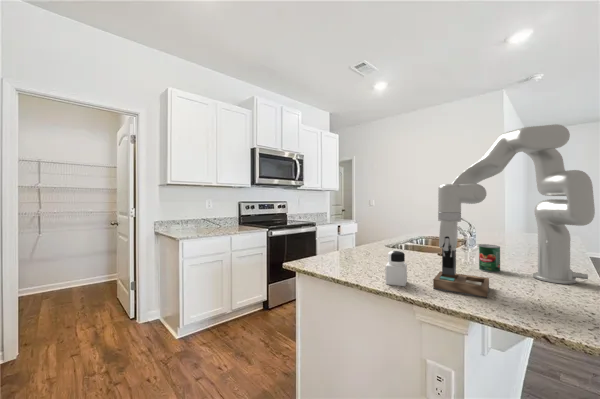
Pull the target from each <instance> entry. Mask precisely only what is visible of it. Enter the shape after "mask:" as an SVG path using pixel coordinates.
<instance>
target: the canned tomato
mask: <svg viewBox="0 0 600 399" xmlns="http://www.w3.org/2000/svg"><path fill="white" fill-rule="evenodd" d="M478 270H480V271H481V272H486V273H493V274H495V273H496V274H497V273H498V274H499V273H501V246H500V245H496V244H489V243H488V244H486V243H484V244H483V243H481V244H478Z"/></svg>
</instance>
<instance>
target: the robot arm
mask: <svg viewBox="0 0 600 399" xmlns="http://www.w3.org/2000/svg"><path fill="white" fill-rule="evenodd" d="M570 136H571V134H570V130H569V129H568V128H567V126H565V125H563V124H556V123H555V124H548V125H547V124H546V125H533V126H525V127H521V128H517V129H514V130H513V129H512V130H508V131H506V132H503V133H501V134H500V135H499V136H498V137H497V138H496V139H495V140H494V142H493V143H492V144H491V145H490V147H489V148H488V149H487V151H485V153H484V154H482V156H481V158H480V159H479V160H477V161H476V162H475V163H473V164H471V165H470V166H469V167H467V168H466V169H465V170H463V171H462V172H461V173H460V174H458V176H457V177H455V179H454V181H452V183H442V184H440V185H439V186H438V189H437V190H438V192H437V193H438V195H437V198H438V200H437V202H438V203H437V210H438V211H437V214H438V215H437V217H438V220H437V221H438V222H440V224H439V237H438V248H440V249H442V247H443V246H444V253H443V267H445V268H453V257H452V250H453V249H454V248H455V247H456V248H457V246H458V234H459V233H458V224H459V223H461V222H462V204H466V205H467V204H468V205H470V204H471V205H476V204H479V203H482V202H483V201H484V200H485V199H486V196H487V190H486V188H485V187H484V186H483V185H481V184H479V183H480V182H482V181H484V180H487V179H489V178H492V177H494V176H496V175H498V174H500V173H502V172H503V171H504V169H505V168H506V167H507V166H508V164H509V163H510V162H511V161H512V159H514V157H515V156H516V155H517V154H518V153H521V152H523V153H525V154H526V155H527V156H528V157H530V159H531V160H532V161H533V164H534V170H535V178H536V179H535V180H536V181H535V182H536V188H537V191H538V193H539V194H540V195H542V196H545V197H566V199H564V198H563V199H561V198H559V199H558V198H556V199H555V198H553V199H552V198H551V199H545V200H542V201H539V202H538V203H537V204H536V205H535V206H534V216H535V222H536V226H537V272H533V273H532V277H533V278H535V279H537V280H539V281H544V282H546V283H547V282H548V283H553V284H562V285H572V284H577V280H576V279H581V280H589V275H588V273H582V272H576V271H573V269H571V234H570V231H569V229H568V228H567V226H575V227H576V226H578V227H581V226H587V225H589V224H591V223H592V222H593V221H594V218H595V215H596V212H595V211H596V210H595V209H596V208H595V198H594V188H593V187H594V185H593V181H592V179H591V177H590V176H589V174H587V172H585V171H583V170H579V169H570V170H566V168H565V165H564V164H565V163H564V158H563V156H562V154H561V152H559V150H557V149H560V148H562V147H563V146H565V145H566V144H567V143H568V142H569V140H570ZM449 247H451V248H449ZM449 250H450V251H449Z"/></svg>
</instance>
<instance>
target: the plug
mask: <svg viewBox="0 0 600 399" xmlns="http://www.w3.org/2000/svg"><path fill="white" fill-rule="evenodd" d="M449 248H451V247H449ZM441 249H442V250H441V251H442V252H441V253H442V255H441V257H442V258H441V259H442V260H441V270H442V274H447V275H455V274H457V246H456V247H455V248H454V249H453V250H452V257H453V268H445V267H443V253H444V246H443V247H442V248H441ZM449 251H450V250H449Z"/></svg>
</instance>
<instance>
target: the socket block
mask: <svg viewBox="0 0 600 399" xmlns="http://www.w3.org/2000/svg"><path fill="white" fill-rule="evenodd" d="M432 284H433V286H432V288H433V290H438V291H442V292H443V291H444V292H449V293H455V294H459V295H460V294H461V295H464V296H465V295H466V296H472V297H478V298H483V299H488V296H489V290H490V277H483V276H476V275H470V274H469V275H468V274H464V273H456V274H455V275H447V274H442V271H441V270H439V272H438V273H437V274H436V276H434V278H433V282H432Z"/></svg>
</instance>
